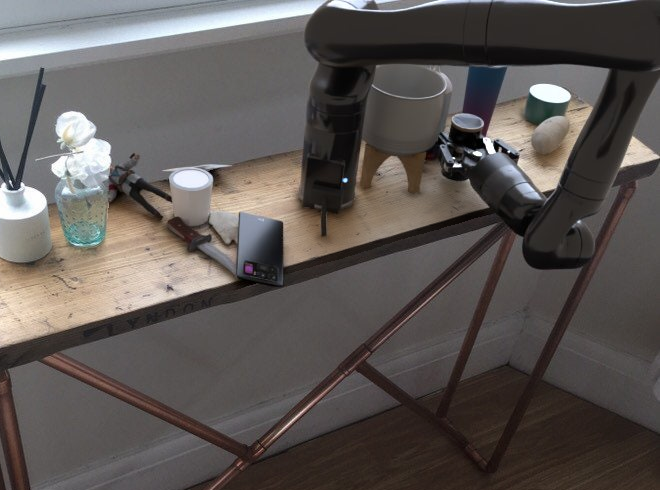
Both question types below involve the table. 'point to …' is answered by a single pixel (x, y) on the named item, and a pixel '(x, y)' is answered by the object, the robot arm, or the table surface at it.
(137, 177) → the action figure
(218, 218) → the arrowhead
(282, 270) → the smartphone
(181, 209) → the white cylinder
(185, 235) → the knife
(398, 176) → the table surface
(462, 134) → the tall tin
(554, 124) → the stone
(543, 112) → the squat tin
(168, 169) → the diorama
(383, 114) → the planter
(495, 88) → the cup
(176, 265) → the table surface
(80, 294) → the table surface
